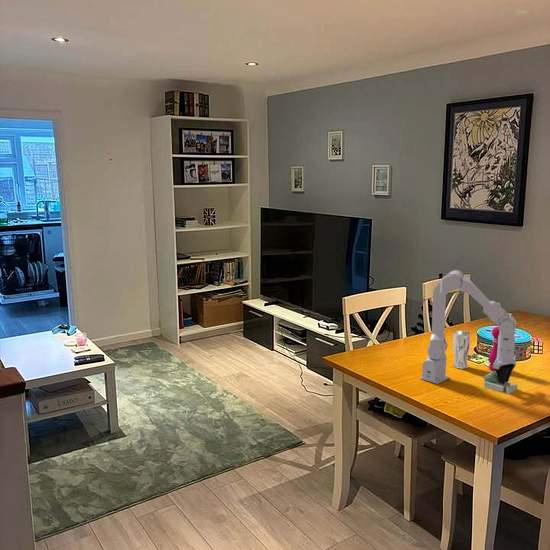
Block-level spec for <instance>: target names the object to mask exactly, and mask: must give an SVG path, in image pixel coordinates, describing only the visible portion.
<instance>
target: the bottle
mask: <svg viewBox="0 0 550 550" xmlns="http://www.w3.org/2000/svg"><path fill="white" fill-rule="evenodd" d="M483 381H484V383H485V382H490V383H493V384H495V383H497V382H498V377H497V373H496V371H491V372H489V373H487V374H484V376H483Z"/></svg>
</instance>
